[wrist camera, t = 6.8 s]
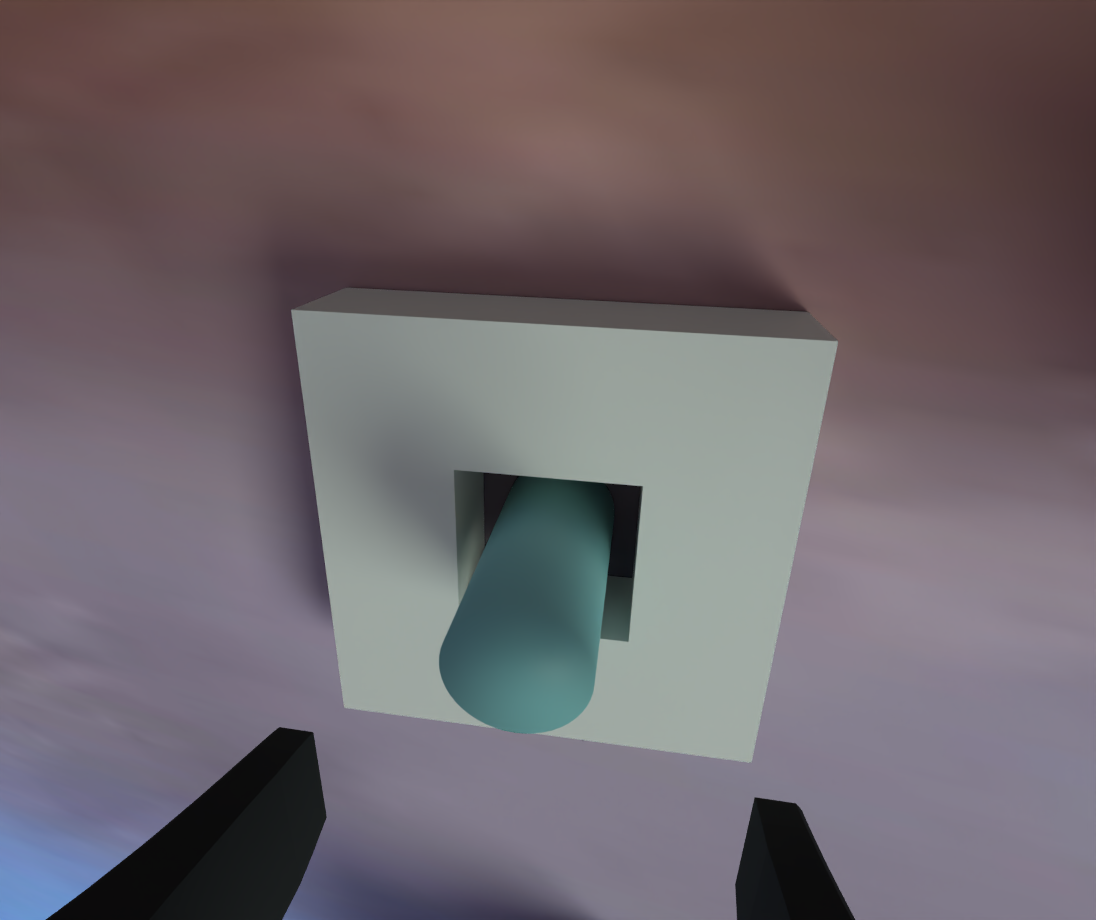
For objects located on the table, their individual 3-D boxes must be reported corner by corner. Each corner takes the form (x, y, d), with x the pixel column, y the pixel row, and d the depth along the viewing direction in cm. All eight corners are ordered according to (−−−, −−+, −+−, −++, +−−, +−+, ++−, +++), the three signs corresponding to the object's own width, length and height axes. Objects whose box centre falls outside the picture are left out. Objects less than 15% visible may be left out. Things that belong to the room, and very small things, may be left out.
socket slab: (808, 311, 16) (838, 341, 14) (739, 686, 21) (751, 762, 19) (346, 287, 18) (290, 309, 15) (381, 643, 23) (344, 707, 20)
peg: (624, 474, 19) (609, 629, 13) (602, 566, 20) (578, 748, 14) (515, 450, 19) (447, 592, 13) (500, 543, 21) (432, 713, 14)
